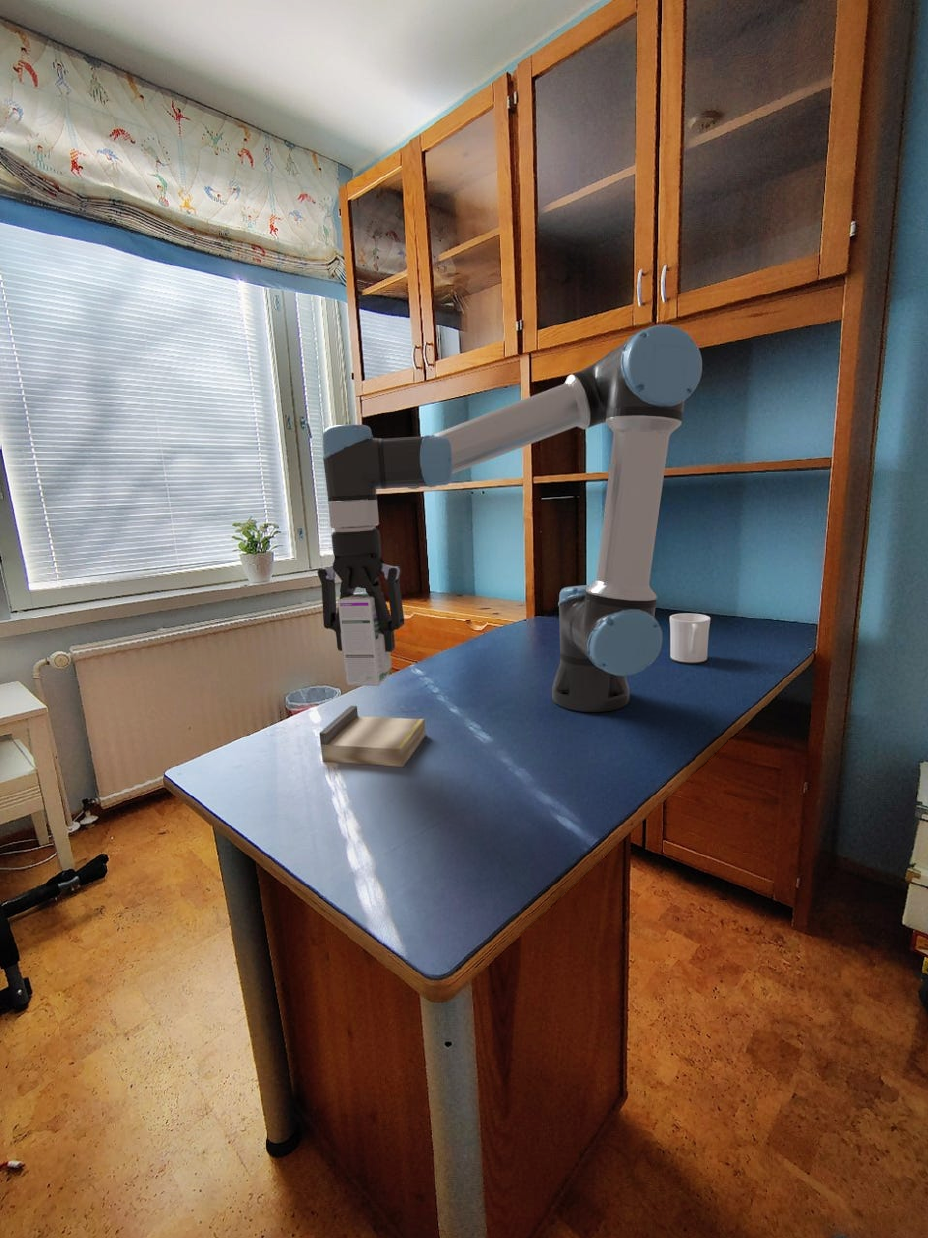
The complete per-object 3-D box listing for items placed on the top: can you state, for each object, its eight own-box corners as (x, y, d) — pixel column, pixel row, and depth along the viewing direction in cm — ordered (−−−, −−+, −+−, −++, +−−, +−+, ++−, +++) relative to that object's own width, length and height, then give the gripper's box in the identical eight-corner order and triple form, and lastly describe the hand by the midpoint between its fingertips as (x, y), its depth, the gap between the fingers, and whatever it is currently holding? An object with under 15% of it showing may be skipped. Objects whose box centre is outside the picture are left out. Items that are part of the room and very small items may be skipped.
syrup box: (379, 686, 92) (372, 598, 89) (345, 685, 93) (336, 598, 90) (390, 675, 98) (384, 591, 94) (358, 674, 99) (351, 591, 96)
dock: (425, 735, 102) (423, 708, 101) (402, 766, 91) (400, 737, 90) (353, 731, 106) (350, 705, 104) (322, 761, 94) (319, 733, 93)
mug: (665, 654, 141) (666, 613, 139) (703, 654, 140) (704, 612, 137) (674, 668, 130) (676, 624, 128) (715, 668, 129) (717, 623, 127)
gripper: (419, 525, 91) (428, 664, 96) (312, 529, 96) (327, 661, 101) (403, 528, 84) (414, 678, 89) (289, 532, 89) (305, 675, 94)
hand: (368, 669), depth 95 cm, fingers closed on syrup box, 6 cm apart
